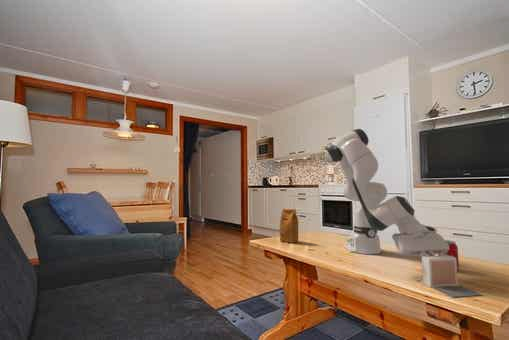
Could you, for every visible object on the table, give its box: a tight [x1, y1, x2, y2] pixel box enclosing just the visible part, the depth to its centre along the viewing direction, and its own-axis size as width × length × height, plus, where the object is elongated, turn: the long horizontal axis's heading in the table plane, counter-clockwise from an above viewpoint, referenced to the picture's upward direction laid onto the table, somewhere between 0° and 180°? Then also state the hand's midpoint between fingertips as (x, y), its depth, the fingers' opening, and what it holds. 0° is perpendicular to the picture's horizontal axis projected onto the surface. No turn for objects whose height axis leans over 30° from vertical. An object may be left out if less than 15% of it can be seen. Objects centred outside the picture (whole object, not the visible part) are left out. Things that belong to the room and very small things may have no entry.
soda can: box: [437, 239, 460, 271], centre depth 114 cm, size 7×7×12 cm
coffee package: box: [278, 208, 299, 244], centre depth 176 cm, size 10×12×22 cm
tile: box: [421, 255, 459, 288], centre depth 96 cm, size 4×11×10 cm, turn 97°
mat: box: [432, 285, 483, 299], centre depth 89 cm, size 8×11×1 cm
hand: (433, 263), depth 99 cm, fingers closed
